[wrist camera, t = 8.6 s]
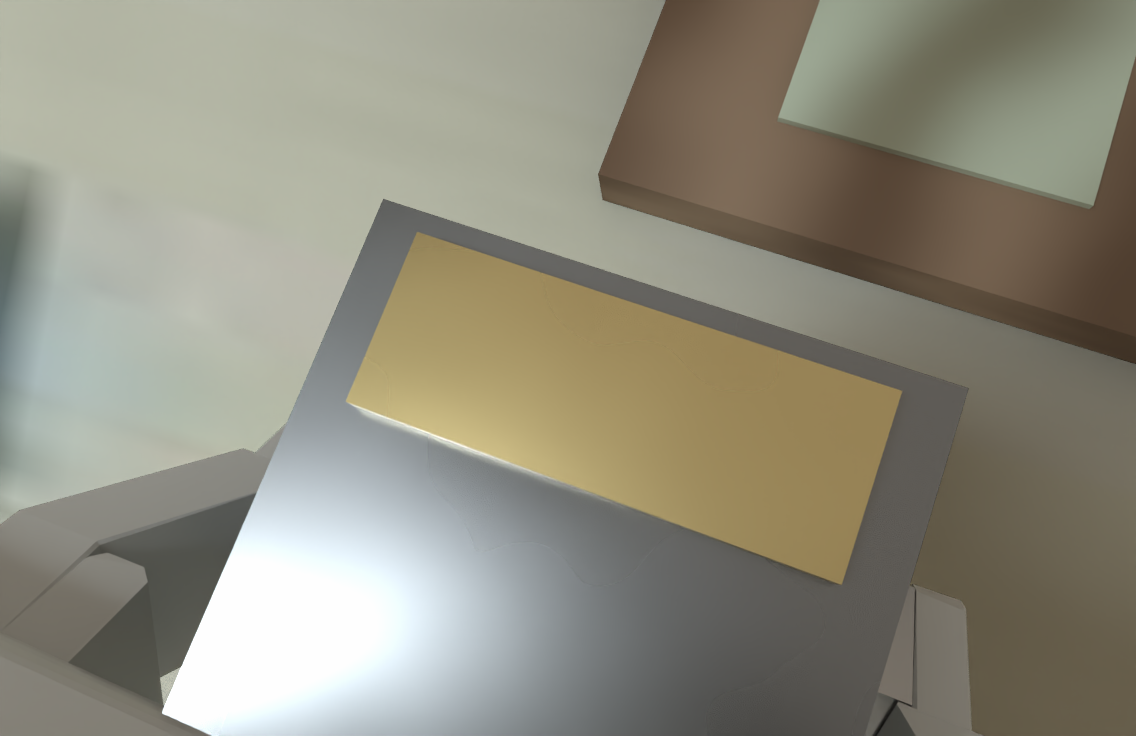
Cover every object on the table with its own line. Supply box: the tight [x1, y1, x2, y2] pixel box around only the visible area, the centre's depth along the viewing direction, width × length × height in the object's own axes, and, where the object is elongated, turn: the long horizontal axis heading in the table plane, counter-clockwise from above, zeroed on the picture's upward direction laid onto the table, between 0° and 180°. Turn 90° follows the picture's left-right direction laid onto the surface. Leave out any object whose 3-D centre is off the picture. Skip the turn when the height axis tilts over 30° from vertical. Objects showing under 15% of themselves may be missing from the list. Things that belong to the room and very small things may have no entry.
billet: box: [162, 199, 969, 736], centre depth 10 cm, size 4×4×10 cm
